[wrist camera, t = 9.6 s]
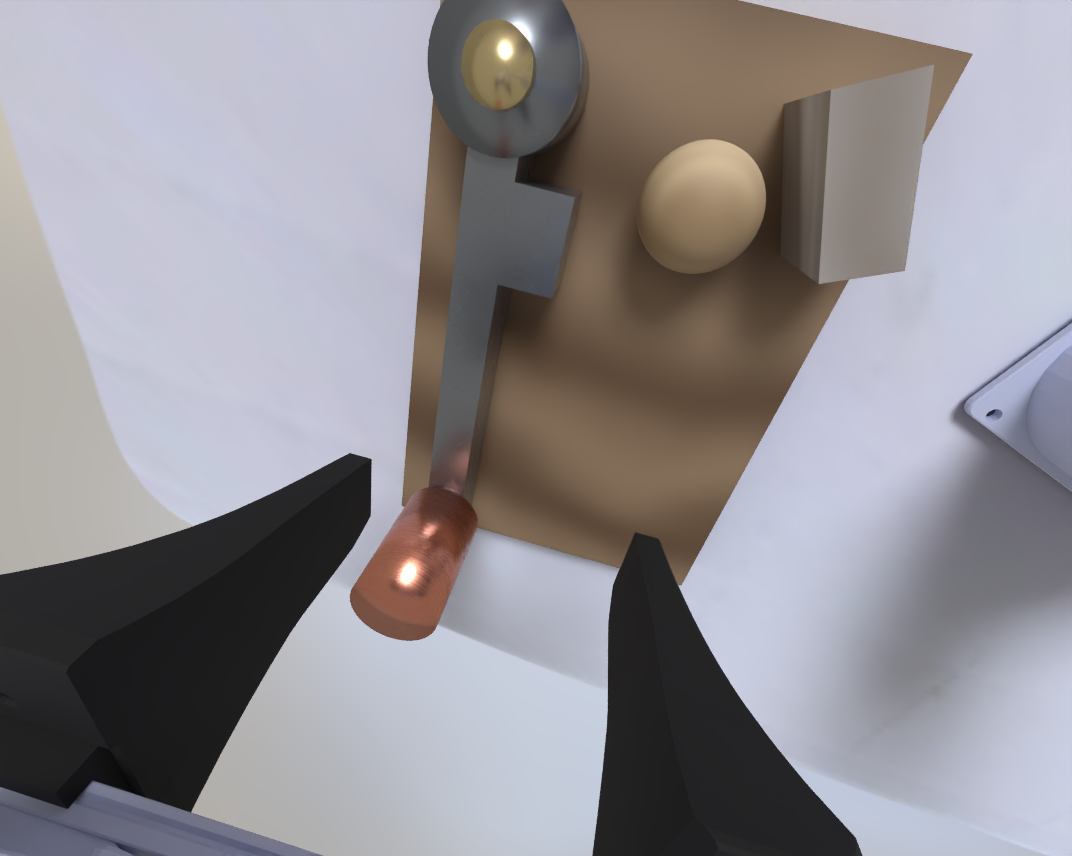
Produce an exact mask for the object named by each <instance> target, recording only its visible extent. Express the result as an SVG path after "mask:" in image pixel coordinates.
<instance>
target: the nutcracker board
mask: <svg viewBox="0 0 1072 856" xmlns="http://www.w3.org/2000/svg"><path fill="white" fill-rule="evenodd" d="M443 1H444V0H441V4H440V7H441V5H442V3H443ZM562 1H563V3H564V5H565V6H566V8H567V10H568V12H569V14H570V16H571V18H572V20H573V22H574V24H575V26H576V28H577V30H578V32H579V34H580V36H581V39H582V41H583V44H584V46H585V50H586V54H587V58H588V64H589V90H588V96H587V100H586V104H585V108H584V110H583V113H582V115H581V118H580V119H579V121H578V123H577V125H576V127H575V128H574V129H573V131H572V132H571V134H570V135H569V136H568V137H567V138H566V139H565V140H564V141H563V142H562V143H561V144H559V145H558V146H557V147H555V148H554V149H552V150H550V151H548V152H546V153H544V154H540V155H537V156H534V162H533V167H532V173H531V178H534V179H538V180H542V181H546V182H550V183H554V184H558V185H562V186H566V187H570V188H574V189H578V190H582V191H583V193H582V197H581V202H580V206H579V210H578V214H577V219H576V223H575V227H574V231H573V236H572V240H571V244H570V248H569V253H568V257H567V261H566V265H565V270H564V274H563V278H562V281H561V283H560V285H559V287H558V289H557V290H556V292H555V294H554V296H553V298H552V299H551V298H547V297H543V296H539V295H536V294H532V293H528V292H524V291H520V290H517V289H513V288H511V289H510V295H509V300H508V306H507V312H506V317H505V323H504V328H503V334H502V339H501V345H500V350H499V356H498V362H497V367H496V373H495V378H494V384H493V389H492V395H491V400H490V406H489V411H488V417H487V423H486V428H485V434H484V439H483V445H482V450H481V456H480V461H479V467H478V473H477V478H476V484H475V489H474V495H473V500H472V504H471V506H472V507H473V508H474V510H475V512H476V515H477V519H478V528H482V529H485V530H489V531H492V532H496V533H499V534H503V535H506V536H510V537H513V538H517V539H520V540H524V541H527V542H531V543H534V544H538V545H541V546H545V547H548V548H552V549H555V550H559V551H562V552H566V553H569V554H573V555H576V556H580V557H583V558H587V559H590V560H594V561H597V562H601V563H604V564H608V565H611V566H615V567H618V568H620V567H621V565H622V562H623V560H624V558H625V555H626V553H627V551H628V548H629V546H630V543H631V541H632V539H633V536H634V534H635V532H637V533H640V534H644V535H648V536H651V537H655V538H658V539H659V540H660V542H661V544H662V547H663V550H664V552H665V555H666V557H667V560H668V562H669V565H670V567H671V570H672V572H673V575H674V577H675V579H676V582H677V584H678V585H682V583H683V581H684V579H685V578H686V576H687V574H688V572H689V570H690V568H691V567H692V565H693V563H694V561H695V559H696V557H697V556H698V554H699V552H700V550H701V548H702V547H703V545H704V543H705V541H706V539H707V537H708V536H709V534H710V532H711V530H712V528H713V526H714V525H715V523H716V521H717V519H718V517H719V516H720V514H721V512H722V510H723V508H724V506H725V505H726V503H727V501H728V499H729V497H730V495H731V494H732V492H733V490H734V488H735V486H736V485H737V483H738V481H739V479H740V477H741V475H742V474H743V472H744V470H745V468H746V466H747V465H748V463H749V461H750V459H751V457H752V455H753V454H754V452H755V450H756V448H757V446H758V444H759V443H760V441H761V439H762V437H763V435H764V434H765V432H766V430H767V428H768V426H769V424H770V423H771V421H772V419H773V417H774V415H775V413H776V412H777V410H778V408H779V406H780V404H781V403H782V401H783V399H784V397H785V395H786V393H787V392H788V390H789V388H790V386H791V384H792V382H793V381H794V379H795V377H796V375H797V373H798V372H799V370H800V368H801V366H802V364H803V362H804V361H805V359H806V357H807V355H808V353H809V351H810V350H811V348H812V346H813V344H814V342H815V341H816V339H817V337H818V335H819V333H820V331H821V330H822V328H823V326H824V324H825V322H826V320H827V319H828V317H829V315H830V313H831V311H832V310H833V308H834V306H835V304H836V302H837V300H838V299H839V297H840V295H841V293H842V291H843V289H844V288H845V286H846V284H847V282H848V280H849V279H855V278H861V277H868V276H874V275H881V274H887V273H894V272H900V271H905V266H906V259H907V252H908V245H909V238H910V231H911V224H912V217H913V210H914V203H915V196H916V189H917V182H918V175H919V168H920V161H921V154H922V147H923V144H924V142H925V140H926V138H927V136H928V135H929V133H930V131H931V129H932V127H933V125H934V124H935V122H936V120H937V118H938V116H939V114H940V113H941V111H942V109H943V107H944V105H945V104H946V102H947V100H948V98H949V96H950V94H951V93H952V91H953V89H954V87H955V85H956V83H957V82H958V80H959V78H960V76H961V74H962V73H963V71H964V69H965V67H966V65H967V63H968V62H969V60H970V58H971V56H972V54H971V53H966V52H962V51H958V50H953V49H949V48H945V47H940V46H936V45H931V44H927V43H923V42H918V41H914V40H910V39H905V38H901V37H897V36H892V35H888V34H883V33H879V32H875V31H870V30H866V29H862V28H857V27H853V26H848V25H844V24H840V23H835V22H831V21H827V20H822V19H818V18H813V17H809V16H805V15H800V14H796V13H792V12H787V11H783V10H778V9H774V8H770V7H765V6H761V5H757V4H752V3H748V2H743V1H739V0H562ZM705 139H715V140H722V141H726V142H729V143H732V144H734V145H736V146H738V147H740V148H741V149H742V150H744V151H745V152H746V153H748V154H749V155H750V156H751V157H752V159H753V160H754V161H755V163H756V164H757V165H758V167H759V169H760V171H761V173H762V176H763V180H764V184H765V190H766V206H765V212H764V217H763V220H762V223H761V226H760V228H759V230H758V232H757V234H756V236H755V237H754V239H753V240H752V242H751V243H750V245H749V246H748V247H747V248H746V249H745V250H744V251H743V252H742V253H741V254H740V255H739V256H738V257H737V258H736V259H734V260H733V261H732V262H730V263H728V264H727V265H725V266H723V267H721V268H719V269H716V270H713V271H710V272H706V273H700V274H686V273H680V272H676V271H673V270H670V269H668V268H666V267H664V266H663V265H661V264H660V263H658V262H657V261H656V260H655V259H654V258H653V257H652V256H651V255H650V254H649V252H648V251H647V249H646V248H645V246H644V244H643V242H642V240H641V238H640V235H639V231H638V226H637V205H638V200H639V196H640V193H641V190H642V187H643V185H644V183H645V181H646V179H647V177H648V176H649V174H650V173H651V171H652V170H653V169H654V167H655V166H656V165H657V164H658V163H659V162H660V161H661V160H662V159H663V158H664V157H665V156H666V155H668V154H669V153H670V152H672V151H673V150H675V149H677V148H678V147H680V146H683V145H685V144H687V143H690V142H694V141H697V140H705ZM466 155H467V145H466V144H464V143H463V142H462V141H461V140H460V139H459V138H457V137H456V135H455V134H454V133H453V132H452V131H451V130H450V128H449V127H448V125H447V124H446V123H445V121H444V119H443V118H442V116H441V114H440V112H439V110H438V108H437V105H436V103H435V100H434V97H433V107H432V120H431V133H430V146H429V159H428V172H427V185H426V198H425V211H424V224H423V237H422V250H421V263H420V276H419V289H418V302H417V315H416V328H415V341H414V354H413V367H412V380H411V393H410V406H409V419H408V432H407V445H406V458H405V471H404V484H403V497H402V506H404V507H405V506H406V504H407V502H408V501H409V499H410V498H411V496H412V495H413V494H414V493H415V492H417V491H419V490H421V489H423V488H427V487H429V478H430V470H431V461H432V452H433V444H434V435H435V426H436V417H437V409H438V400H439V391H440V382H441V374H442V365H443V356H444V347H445V339H446V330H447V321H448V312H449V304H450V295H451V286H452V277H453V269H454V260H455V251H456V242H457V234H458V225H459V216H460V207H461V199H462V190H463V181H464V172H465V164H466Z"/></svg>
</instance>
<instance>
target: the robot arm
mask: <svg viewBox="0 0 1072 856" xmlns="http://www.w3.org/2000/svg"><path fill="white" fill-rule="evenodd" d="M995 409H996V411H995V412H994V413H993V414H992V415H990V416H986V414H987V413H988V412H990V411H992V410H995ZM964 410H965V412H966V413H967V414H968V415H970V416H971V417H972V418H973V419H975V420H976V421H977V422H979V423H980V424H981V425H983V426H984V427H985V428H987V429H988V430H989V431H991V432H992V433H993V434H995V435H996V436H997V437H999V438H1000V439H1001V440H1003V441H1004V442H1005V443H1007V444H1008V445H1009V446H1011V447H1012V448H1013V449H1015V450H1016V451H1017V452H1019V453H1020V454H1021V455H1023V456H1024V457H1025V458H1027V459H1028V460H1029V461H1031V462H1032V463H1033V464H1035V465H1036V466H1037V467H1039V468H1040V469H1041V470H1043V471H1044V472H1045V473H1047V474H1048V475H1049V476H1051V477H1052V478H1053V479H1055V480H1056V481H1057V482H1059V483H1060V484H1061V485H1063V486H1064V487H1065V488H1067V489H1068V490H1069V491H1071V492H1072V323H1071V324H1069V325H1068V326H1067V327H1065V328H1064V329H1062V330H1061V331H1060V332H1058V333H1057V334H1056V335H1054V336H1053V337H1052V338H1050V339H1049V340H1048V341H1046V342H1045V343H1043V344H1042V345H1041V346H1039V347H1038V348H1037V349H1035V350H1034V351H1033V352H1031V353H1030V354H1029V355H1027V356H1026V357H1024V358H1023V359H1022V360H1020V361H1019V362H1018V363H1016V364H1015V365H1014V366H1012V367H1011V368H1010V369H1008V370H1007V371H1005V372H1004V373H1003V374H1001V375H1000V376H999V377H997V378H996V379H995V380H993V381H992V382H991V383H989V384H988V385H986V386H985V387H984V388H982V389H981V390H980V391H978V392H977V393H976V394H974V395H973V396H972V397H970V398H969V399H968V400H967V401H966V403H965V405H964ZM371 461H372V459H369V458H366V457H362V456H358V455H355V454H351V453H349V454H347V455H345V456H343V457H341V458H340V459H338V460H336V461H334V462H332V463H330V464H328V465H326V466H324V467H323V468H321V469H319V470H317V471H315V472H313V473H311V474H309V475H307V476H306V477H304V478H302V479H300V480H298V481H296V482H294V483H292V484H290V485H288V486H286V487H284V488H282V489H280V490H278V491H276V492H274V493H272V494H269V495H267V496H265V497H263V498H261V499H259V500H256V501H254V502H252V503H250V504H248V505H246V506H243V507H241V508H239V509H237V510H234V511H232V512H230V513H227V514H225V515H222V516H220V517H217V518H214V519H212V520H209V521H206V522H204V523H201V524H198V525H196V526H193V527H190V528H187V529H184V530H181V531H178V532H175V533H172V534H169V535H165V536H162V537H159V538H156V539H153V540H149V541H146V542H143V543H140V544H136V545H133V546H129V547H126V548H122V549H118V550H115V551H111V552H107V553H103V554H99V555H95V556H90V557H86V558H83V559H78V560H73V561H69V562H64V563H59V564H54V565H50V566H44V567H39V568H34V569H29V570H24V571H19V572H14V573H9V574H3V575H0V856H322V855H319V854H316V853H313V852H310V851H307V850H304V849H301V848H298V847H295V846H292V845H289V844H286V843H283V842H280V841H276V840H273V839H270V838H267V837H264V836H261V835H258V834H255V833H252V832H249V831H246V830H243V829H239V828H237V827H234V826H230V825H227V824H224V823H221V822H218V821H215V820H212V819H209V818H206V817H203V816H200V815H197V814H194V813H191V811H192V809H193V807H194V805H195V803H196V801H197V799H198V797H199V795H200V793H201V791H202V789H203V787H204V785H205V784H206V782H207V780H208V778H209V776H210V774H211V772H212V770H213V768H214V766H215V764H216V762H217V760H218V758H219V756H220V754H221V752H222V750H223V749H224V747H225V745H226V743H227V741H228V740H229V738H230V736H231V734H232V732H233V730H234V729H235V727H236V725H237V723H238V721H239V719H240V717H241V716H242V714H243V712H244V710H245V709H246V707H247V705H248V703H249V701H250V700H251V698H252V696H253V695H254V693H255V691H256V689H257V688H258V686H259V684H260V682H261V681H262V679H263V677H264V676H265V674H266V672H267V670H268V669H269V667H270V665H271V664H272V662H273V660H274V658H275V657H276V655H277V654H278V652H279V650H280V649H281V647H282V645H283V644H284V642H285V641H286V639H287V637H288V636H289V634H290V632H291V631H292V630H293V628H294V627H295V625H296V624H297V622H298V621H299V619H300V618H301V616H302V615H303V614H304V612H305V611H306V610H307V608H308V607H309V606H310V604H311V603H312V602H313V600H314V599H315V598H316V596H317V595H318V594H319V592H320V591H321V590H322V588H323V587H324V586H325V584H326V583H327V582H328V580H329V579H330V578H331V577H332V575H333V574H334V573H335V571H336V570H337V568H338V567H339V566H340V564H341V563H342V562H343V560H344V559H345V558H346V556H347V555H348V554H349V552H350V551H351V549H352V548H353V546H354V545H355V543H356V541H357V539H358V538H359V536H360V534H361V532H362V531H363V529H364V527H365V525H366V523H367V521H368V520H369V518H370V516H371ZM593 856H862V853H861V851H860V848H859V845H858V843H857V840H856V838H855V837H854V836H853V834H852V833H851V832H850V831H849V830H848V829H847V828H846V827H845V826H844V825H843V823H842V822H841V821H840V820H839V819H838V818H837V817H836V816H835V815H834V814H833V812H832V811H831V810H830V809H829V808H828V807H827V806H826V805H825V804H824V803H823V801H821V799H820V798H819V797H818V796H817V795H816V794H815V793H814V792H813V791H812V790H811V788H810V787H809V786H808V785H807V784H806V783H805V781H804V780H803V779H802V778H801V777H800V775H799V774H798V773H797V772H796V771H795V769H794V768H793V767H792V766H791V764H790V763H789V762H788V761H787V760H786V758H785V757H784V756H783V755H782V754H781V752H780V751H779V750H778V749H777V747H776V746H775V745H774V743H773V742H772V741H771V740H770V738H769V737H768V736H767V734H766V733H765V732H764V730H763V729H762V727H761V726H760V725H759V723H758V722H757V721H756V719H755V718H754V717H753V715H752V714H751V713H750V711H749V710H748V708H747V707H746V706H745V704H744V703H743V701H742V700H741V699H740V697H739V696H738V694H737V693H736V691H735V690H734V688H733V687H732V685H731V683H730V682H729V680H728V679H727V677H726V676H725V674H724V672H723V671H722V669H721V668H720V666H719V664H718V662H717V661H716V659H715V657H714V656H713V654H712V652H711V650H710V649H709V647H708V645H707V643H706V641H705V639H704V638H703V636H702V634H701V632H700V630H699V628H698V626H697V624H696V622H695V620H694V618H693V616H692V614H691V612H690V610H689V608H688V606H687V604H686V602H685V599H684V597H683V595H682V593H681V591H680V589H679V586H678V584H677V582H676V579H675V577H674V575H673V572H672V570H671V567H670V565H669V562H668V560H667V557H666V555H665V552H664V550H663V547H662V544H661V542H660V540H659V539H658V538H655V537H651V536H648V535H644V534H640V533H637V532H635V534H634V536H633V539H632V541H631V543H630V546H629V548H628V551H627V553H626V555H625V558H624V560H623V562H622V565H621V567H620V570H619V572H618V574H617V577H616V579H615V582H614V584H613V590H612V598H611V605H610V614H609V626H608V716H607V732H606V742H605V752H604V762H603V772H602V781H601V790H600V799H599V807H598V816H597V824H596V833H595V840H594V848H593Z"/></svg>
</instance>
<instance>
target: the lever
mask: <svg viewBox="0 0 1072 856" xmlns="http://www.w3.org/2000/svg"><path fill="white" fill-rule="evenodd" d="M428 73H429V80H430V86H431V90H432V94H433V97H434V100H435V103H436V105H437V108H438V110H439V112H440V114H441V116H442V118H443V119H444V121H445V123H446V124H447V125H448V127H449V128H450V130H451V131H452V132H453V133H454V134H455V135H456V137H457V138H459V139H460V140H461V141H462V142H463V143H464V144H466V145H467V155H466V164H465V172H464V181H463V190H462V199H461V207H460V216H459V225H458V234H457V242H456V251H455V260H454V269H453V277H452V286H451V295H450V304H449V312H448V321H447V330H446V339H445V347H444V356H443V365H442V374H441V382H440V391H439V400H438V409H437V417H436V426H435V435H434V444H433V452H432V461H431V470H430V478H429V487H427V488H423V489H421V490H419V491H417V492H415V493H414V494H413V495H412V496H411V498H410V499H409V501H408V502H407V504H406V506H405V507H404V509H403V510H402V512H401V513H400V515H399V516H398V518H397V520H396V521H395V523H394V524H393V526H392V527H391V529H390V530H389V532H388V534H387V535H386V537H385V538H384V540H383V541H382V543H381V544H380V546H379V548H378V549H377V551H376V552H375V554H374V555H373V557H372V558H371V560H370V562H369V563H368V565H367V566H366V568H365V569H364V571H363V572H362V574H361V576H360V577H359V579H358V580H357V582H356V583H355V585H354V587H353V588H352V590H351V593H350V602H351V606H352V608H353V610H354V612H355V613H356V615H357V616H358V617H359V618H360V619H361V620H362V621H363V622H364V623H365V624H366V625H367V626H369V627H370V628H371V629H373V630H375V631H376V632H378V633H380V634H383V635H385V636H387V637H391V638H395V639H399V640H406V641H408V640H409V641H412V640H419V639H423V638H425V637H427V636H429V635H430V634H432V633H433V631H434V630H435V628H436V626H437V624H438V622H439V619H440V617H441V614H442V612H443V610H444V607H445V605H446V602H447V600H448V598H449V595H450V593H451V590H452V588H453V586H454V583H455V581H456V578H457V576H458V574H459V571H460V569H461V566H462V564H463V561H464V559H465V557H466V554H467V552H468V549H469V547H470V545H471V542H472V540H473V537H474V535H475V533H476V530H477V527H478V519H477V515H476V512H475V510H474V508H473V507H472V506H471V504H472V500H473V495H474V489H475V484H476V478H477V473H478V467H479V461H480V456H481V450H482V445H483V439H484V434H485V428H486V423H487V417H488V411H489V406H490V400H491V395H492V389H493V384H494V378H495V373H496V367H497V362H498V356H499V350H500V345H501V339H502V334H503V328H504V323H505V317H506V312H507V306H508V300H509V295H510V289H511V288H513V289H517V290H520V291H524V292H528V293H532V294H536V295H539V296H543V297H547V298H551V299H552V298H553V296H554V294H555V292H556V290H557V289H558V287H559V285H560V283H561V281H562V278H563V274H564V270H565V265H566V261H567V257H568V253H569V248H570V244H571V240H572V236H573V231H574V227H575V223H576V219H577V214H578V210H579V206H580V202H581V197H582V193H583V191H582V190H578V189H574V188H570V187H566V186H562V185H558V184H554V183H550V182H546V181H542V180H538V179H534V178H531V173H532V167H533V162H534V156H537V155H540V154H544V153H546V152H548V151H550V150H552V149H554V148H555V147H557V146H558V145H559V144H561V143H562V142H563V141H564V140H565V139H566V138H567V137H568V136H569V135H570V134H571V132H572V131H573V129H574V128H575V127H576V125H577V123H578V121H579V119H580V118H581V115H582V113H583V110H584V108H585V104H586V100H587V96H588V90H589V64H588V58H587V54H586V50H585V46H584V44H583V41H582V39H581V36H580V34H579V32H578V30H577V28H576V26H575V24H574V22H573V20H572V18H571V16H570V14H569V12H568V10H567V8H566V6H565V5H564V3H563V1H562V0H444V1H443V3H442V5H441V7H440V9H439V11H438V13H437V15H436V18H435V21H434V23H433V26H432V30H431V35H430V39H429V47H428Z"/></svg>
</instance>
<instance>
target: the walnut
mask: <svg viewBox="0 0 1072 856" xmlns="http://www.w3.org/2000/svg"><path fill="white" fill-rule="evenodd" d="M765 206H766V190H765V184H764V180H763V176H762V173H761V171H760V169H759V167H758V165H757V164H756V163H755V161H754V160H753V159H752V157H751V156H750V155H749V154H748V153H746V152H745V151H744V150H742V149H741V148H740V147H738V146H736V145H734V144H732V143H729V142H726V141H722V140H715V139H705V140H697V141H694V142H690V143H687V144H685V145H683V146H680V147H678V148H677V149H675V150H673V151H672V152H670V153H669V154H668V155H666V156H665V157H664V158H663V159H662V160H661V161H660V162H659V163H658V164H657V165H656V166H655V167H654V169H653V170H652V171H651V173H650V174H649V176H648V177H647V179H646V181H645V183H644V185H643V187H642V190H641V193H640V196H639V200H638V205H637V226H638V231H639V235H640V238H641V240H642V242H643V244H644V246H645V248H646V249H647V251H648V252H649V254H650V255H651V256H652V257H653V258H654V259H655V260H656V261H657V262H658V263H660V264H661V265H663V266H664V267H666V268H668V269H670V270H673V271H676V272H680V273H686V274H700V273H706V272H710V271H713V270H716V269H719V268H721V267H723V266H725V265H727V264H728V263H730V262H732V261H733V260H734V259H736V258H737V257H738V256H739V255H740V254H741V253H742V252H743V251H744V250H745V249H746V248H747V247H748V246H749V245H750V243H751V242H752V240H753V239H754V237H755V236H756V234H757V232H758V230H759V228H760V226H761V223H762V220H763V217H764V212H765Z"/></svg>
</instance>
